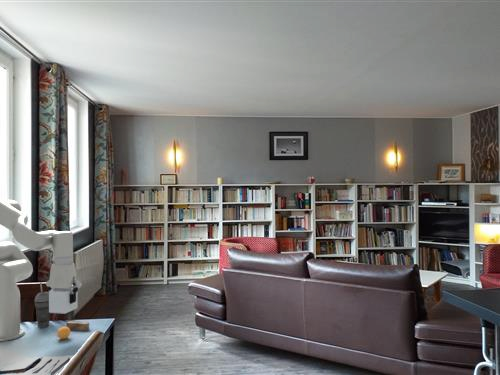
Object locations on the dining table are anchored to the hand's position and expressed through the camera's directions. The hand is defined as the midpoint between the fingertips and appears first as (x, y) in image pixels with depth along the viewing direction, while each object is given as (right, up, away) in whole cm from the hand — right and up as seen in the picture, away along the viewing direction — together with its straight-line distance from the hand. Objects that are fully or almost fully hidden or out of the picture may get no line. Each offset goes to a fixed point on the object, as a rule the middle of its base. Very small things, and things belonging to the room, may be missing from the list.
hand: (63, 302), depth 161 cm
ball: (0, -13, 0) cm, 13 cm away
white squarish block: (0, -3, 0) cm, 3 cm away
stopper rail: (+1, -15, +10) cm, 19 cm away
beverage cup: (-17, -16, +16) cm, 28 cm away
